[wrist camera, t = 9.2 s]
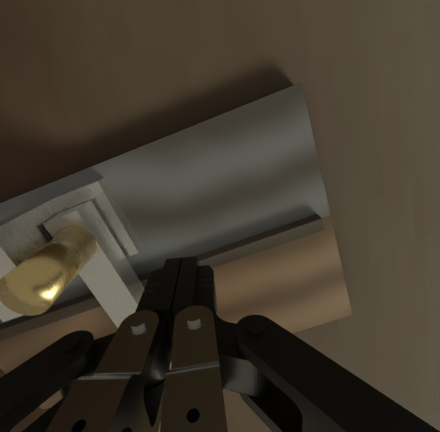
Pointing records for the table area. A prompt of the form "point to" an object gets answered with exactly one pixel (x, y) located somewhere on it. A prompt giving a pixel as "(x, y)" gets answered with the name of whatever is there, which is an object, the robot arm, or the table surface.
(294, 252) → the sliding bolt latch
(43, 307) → the swing bar
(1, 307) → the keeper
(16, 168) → the table surface
